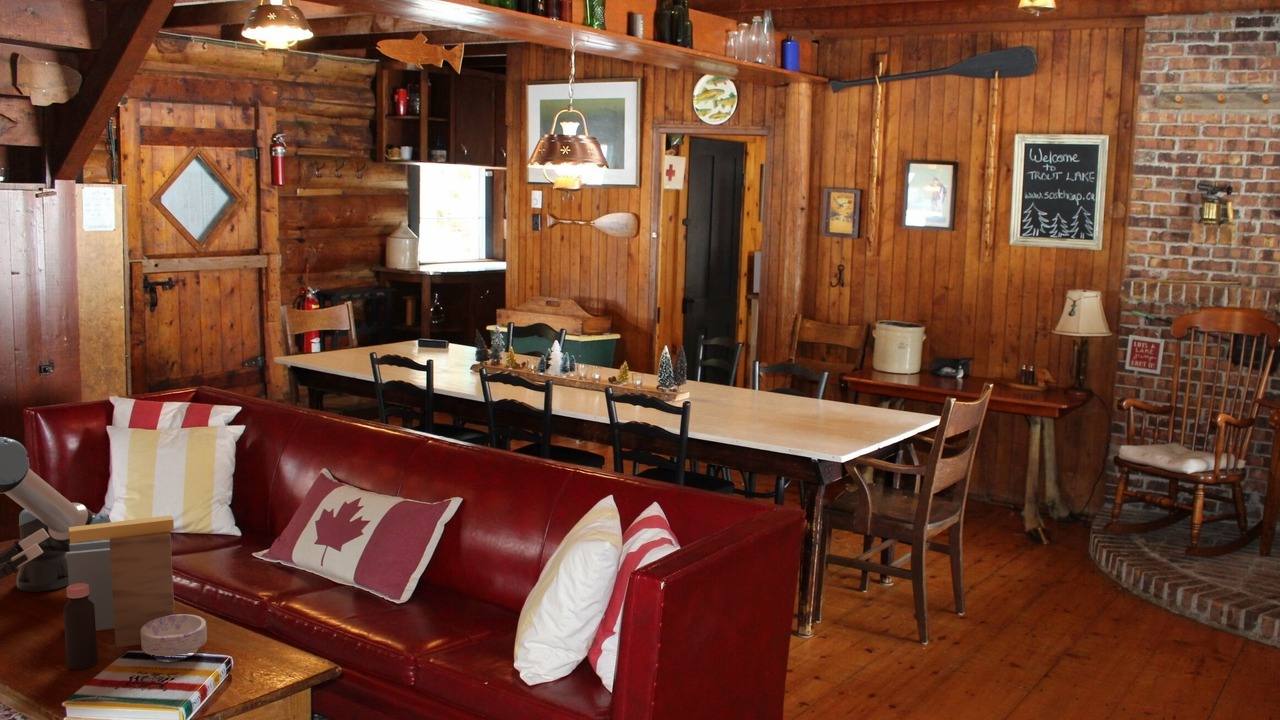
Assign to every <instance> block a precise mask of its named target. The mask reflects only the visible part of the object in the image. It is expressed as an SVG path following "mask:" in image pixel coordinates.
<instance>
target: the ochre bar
mask: <svg viewBox="0 0 1280 720" xmlns="http://www.w3.org/2000/svg"><path fill="white" fill-rule="evenodd" d="M174 525H175V524H174V518H173V516H172V515H164V516H156V517H147V518H145V517H144V518H137V519H129V520H128V519H127V520H120V521H111V522H110V523H101V524H92V525H83V526H75V527H69V539H70V543H76V542H85V541H93V540H101V539H110V538H118V537H126V536H135V535H143V534H151V533H160V532H168V531H170V532H174V531H175V526H174Z"/></svg>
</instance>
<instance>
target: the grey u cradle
mask: <svg viewBox="0 0 1280 720" xmlns="http://www.w3.org/2000/svg"><path fill="white" fill-rule="evenodd" d="M69 548H70V552H66V553H67V564H68V579H69V585H72V584H76V583H86V584H88V585H89V596H88V599H89V600H90V601H92V602H93V603H94V607H95V624H96V632H98V631H104V630H109V629H110V630H111V629H114V630H115V626H114V609H113V592H112V575H111V558H110V541H109V540H103V541H92V542H81V543H70V544H69ZM69 585H68V586H69Z"/></svg>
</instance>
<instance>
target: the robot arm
mask: <svg viewBox="0 0 1280 720" xmlns="http://www.w3.org/2000/svg"><path fill="white" fill-rule="evenodd" d="M0 494H5V496H7V497H9V498H10V499H11V500H12V501H14V502H15V503H16V504H18V505H19V506H21V507H22V508H23V510H22V511H21V512H20V513H19V515H18V518H19V520H18V523H19V524H18V530H19V540H18V539H16V540H14V541H13V542H14V543H12V544H11V545H10V546H9V547H7V548H5V549H4V550H3V551H1V552H0V580H2V579H4V578H6V577H8V576H10V575H12V574H17V576H16V580H15V581H16V588H17V589H18V590H19V591H23V592H29V593H30V592H32V593H36V592H37V593H38V592H39V593H40V592H47V591H52V590H57V589H62V588H64V587H68V586H69V579H68V564H67V552H70V548H69V544H70V539H69V527H75V526H83V525H92V524H101V523H110V522H112V520H111V518H110V517H109V516H108V515H106V514H103V513H95V512H93V511H91V510H90V509H88V508H87V506H85V505H84V504H82V503H79V502H71V501H70V500H69V499H67V498H66V497H65V496H63V495H62V494H61V493H60V492H59V491H57V490H56V488H54V487H53V486H51V485H50V484H49V483H48V482H46V481H45V480H44V479H43V478H41V477H40V476H39V475H38V473H37V474H36V472H34V471H33V470H32V469H31V468H30V458H29V457H28V451H27V449H26V448H25V446H24V445H23V444H22V443H21V442H19V441H17V440H15V439H12V438H9V437H3V436H0ZM101 540H103V539H101ZM101 540H93V541H101ZM85 542H92V541H85ZM76 543H81V542H76Z"/></svg>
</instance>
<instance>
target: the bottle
mask: <svg viewBox="0 0 1280 720" xmlns="http://www.w3.org/2000/svg"><path fill="white" fill-rule="evenodd" d="M65 589H66V597H67V600H68V602H67V603H66V604H65V605H64V606H63V623H64V640H65V653H66V654H65V655H66V667H67V668H68V669H70V670H72V671H81V670H82V671H83V670H87V669H90V668H93V667H95V666H96V665H97V664H98V661H99V657H98V645H97V644H98V641H97V631H96V624H95V607H94V603H93V602H92V601H90V600H89V599H88V596H89V585H88V584H86V583H76V584H72V585H67V586H66V588H65Z"/></svg>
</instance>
